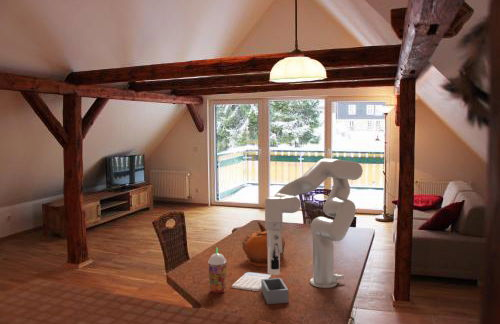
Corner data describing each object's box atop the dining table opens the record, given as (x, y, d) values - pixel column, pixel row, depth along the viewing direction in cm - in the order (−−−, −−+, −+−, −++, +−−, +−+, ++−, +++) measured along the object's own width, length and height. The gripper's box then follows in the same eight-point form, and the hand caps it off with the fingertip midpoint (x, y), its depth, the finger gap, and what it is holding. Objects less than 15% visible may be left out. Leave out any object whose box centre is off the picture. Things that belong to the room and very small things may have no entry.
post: (277, 271, 171) (277, 244, 170) (279, 274, 167) (280, 246, 166) (267, 271, 170) (267, 244, 170) (269, 275, 166) (269, 247, 165)
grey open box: (281, 289, 177) (280, 277, 176) (288, 302, 163) (288, 289, 163) (261, 291, 175) (261, 279, 175) (267, 304, 162) (267, 291, 161)
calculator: (231, 289, 180) (231, 285, 180) (246, 274, 199) (246, 271, 199) (258, 292, 175) (258, 288, 175) (271, 277, 194) (271, 273, 194)
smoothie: (205, 293, 174) (204, 249, 173) (213, 286, 182) (212, 244, 181) (222, 295, 171) (221, 250, 170) (229, 288, 179) (229, 245, 178)
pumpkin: (236, 262, 217) (236, 222, 215) (261, 251, 237) (261, 215, 236) (271, 270, 204) (270, 227, 202) (294, 257, 224) (293, 219, 223)
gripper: (287, 229, 160) (286, 273, 160) (277, 221, 176) (277, 260, 177) (269, 230, 158) (269, 274, 159) (261, 221, 175) (261, 261, 176)
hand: (273, 266), depth 168 cm, fingers closed on post, 4 cm apart
